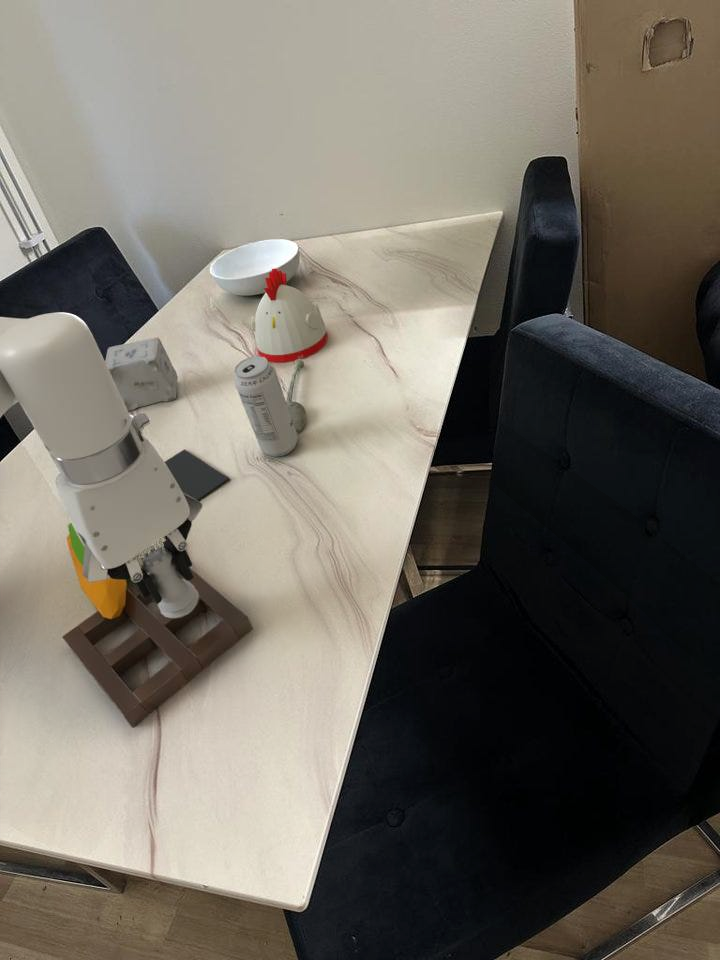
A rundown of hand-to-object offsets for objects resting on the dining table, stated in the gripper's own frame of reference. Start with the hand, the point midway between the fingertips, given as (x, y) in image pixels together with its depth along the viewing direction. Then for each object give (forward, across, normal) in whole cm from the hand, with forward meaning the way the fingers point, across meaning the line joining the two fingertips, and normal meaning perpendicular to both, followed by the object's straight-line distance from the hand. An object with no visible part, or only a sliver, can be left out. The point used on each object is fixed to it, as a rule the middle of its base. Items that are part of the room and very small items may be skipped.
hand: (168, 583), depth 71 cm
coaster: (+9, -13, -27) cm, 31 cm away
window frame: (+9, +3, -3) cm, 10 cm away
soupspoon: (+9, -39, -29) cm, 49 cm away
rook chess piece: (+4, 0, 0) cm, 4 cm away
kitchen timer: (+9, -52, -45) cm, 69 cm away
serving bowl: (+9, -67, -75) cm, 101 cm away
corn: (+9, +2, -16) cm, 19 cm away
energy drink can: (+9, -29, -20) cm, 36 cm away
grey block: (+9, -25, -54) cm, 60 cm away
